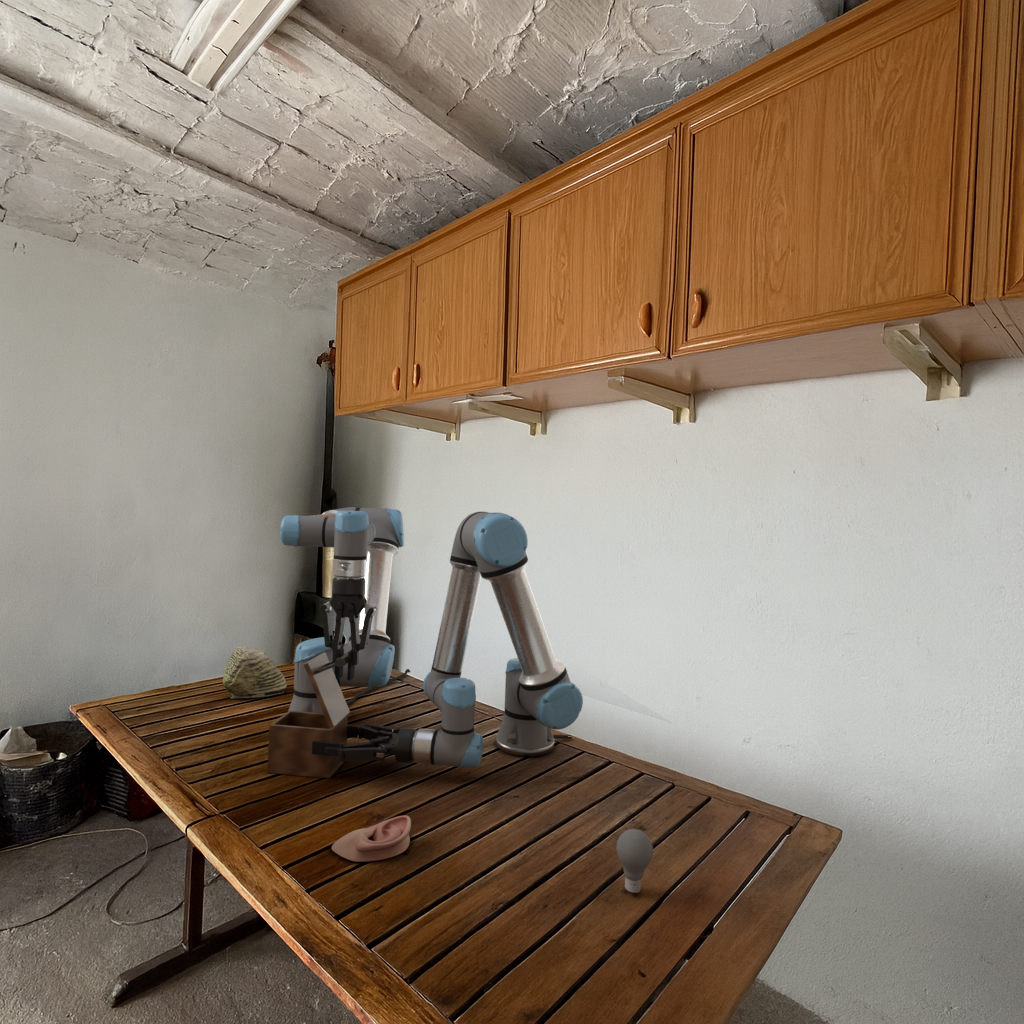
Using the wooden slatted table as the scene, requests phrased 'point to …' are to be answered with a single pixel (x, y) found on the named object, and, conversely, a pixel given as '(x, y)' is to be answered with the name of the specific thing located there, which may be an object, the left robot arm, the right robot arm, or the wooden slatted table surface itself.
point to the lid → (328, 687)
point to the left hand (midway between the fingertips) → (344, 677)
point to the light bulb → (634, 857)
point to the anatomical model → (375, 841)
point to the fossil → (252, 674)
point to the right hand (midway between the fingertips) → (322, 738)
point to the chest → (303, 744)
